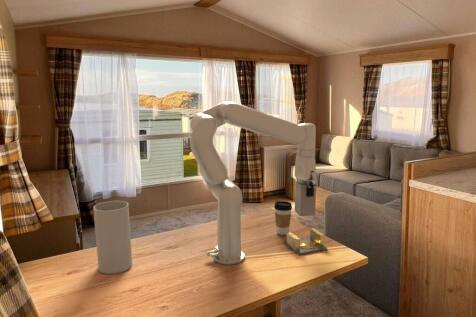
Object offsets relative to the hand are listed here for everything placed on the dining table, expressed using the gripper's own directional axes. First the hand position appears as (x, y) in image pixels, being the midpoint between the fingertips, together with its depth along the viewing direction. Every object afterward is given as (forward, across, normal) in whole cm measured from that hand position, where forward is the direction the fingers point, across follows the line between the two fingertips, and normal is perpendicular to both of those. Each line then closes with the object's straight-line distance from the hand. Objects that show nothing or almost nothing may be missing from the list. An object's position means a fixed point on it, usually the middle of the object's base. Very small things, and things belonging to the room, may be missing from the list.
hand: (305, 193), depth 152 cm
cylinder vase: (+23, -11, -78) cm, 82 cm away
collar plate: (+24, 0, 0) cm, 24 cm away
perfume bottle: (+9, 0, 0) cm, 9 cm away
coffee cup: (+24, -18, -1) cm, 30 cm away
